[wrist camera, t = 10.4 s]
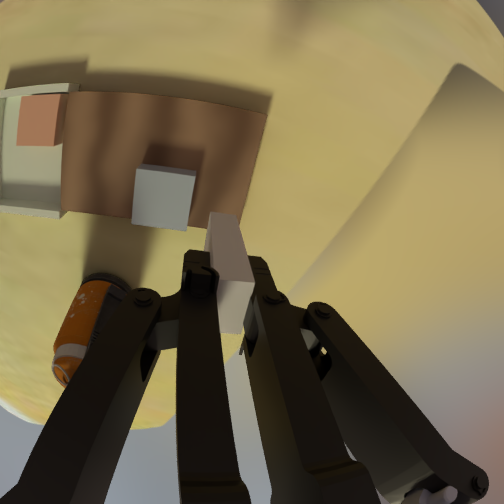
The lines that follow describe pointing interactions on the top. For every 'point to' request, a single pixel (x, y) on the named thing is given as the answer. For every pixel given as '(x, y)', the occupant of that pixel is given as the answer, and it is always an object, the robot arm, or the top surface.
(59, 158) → the tray
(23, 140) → the tile
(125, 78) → the top surface
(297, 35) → the top surface
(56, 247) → the top surface
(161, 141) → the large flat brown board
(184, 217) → the tile
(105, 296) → the canister
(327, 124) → the top surface
